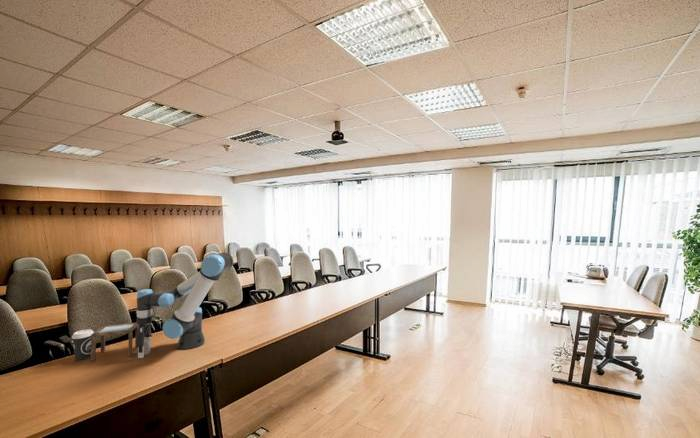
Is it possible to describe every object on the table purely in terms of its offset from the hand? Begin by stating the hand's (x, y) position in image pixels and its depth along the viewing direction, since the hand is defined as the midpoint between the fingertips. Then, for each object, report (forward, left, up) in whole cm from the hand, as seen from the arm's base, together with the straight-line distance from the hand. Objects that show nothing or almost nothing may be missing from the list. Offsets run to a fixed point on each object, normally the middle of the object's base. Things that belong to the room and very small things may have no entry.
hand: (144, 352), depth 172 cm
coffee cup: (+30, -5, 0) cm, 31 cm away
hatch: (+15, -5, +14) cm, 21 cm away
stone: (0, 0, 0) cm, 0 cm away
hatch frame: (+15, -5, 0) cm, 16 cm away
